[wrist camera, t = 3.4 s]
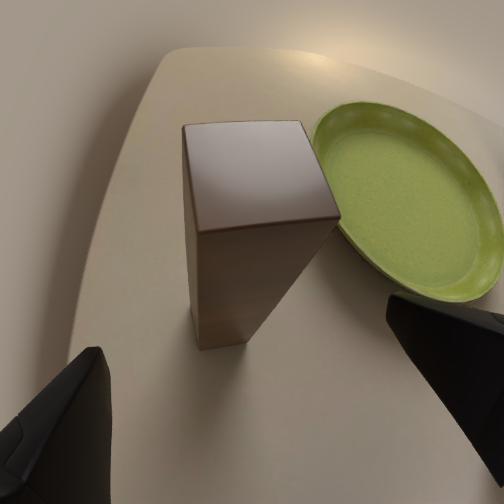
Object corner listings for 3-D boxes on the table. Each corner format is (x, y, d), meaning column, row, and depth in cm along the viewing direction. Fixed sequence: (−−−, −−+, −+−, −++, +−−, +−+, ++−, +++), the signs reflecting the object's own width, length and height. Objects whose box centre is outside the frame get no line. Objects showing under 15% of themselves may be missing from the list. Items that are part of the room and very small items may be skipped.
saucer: (502, 315, 23) (526, 304, 20) (302, 310, 20) (319, 294, 17) (453, 149, 32) (466, 132, 29) (293, 104, 30) (301, 79, 27)
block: (247, 342, 19) (344, 217, 6) (198, 351, 18) (196, 233, 6) (237, 296, 20) (300, 119, 8) (190, 303, 19) (181, 123, 7)
